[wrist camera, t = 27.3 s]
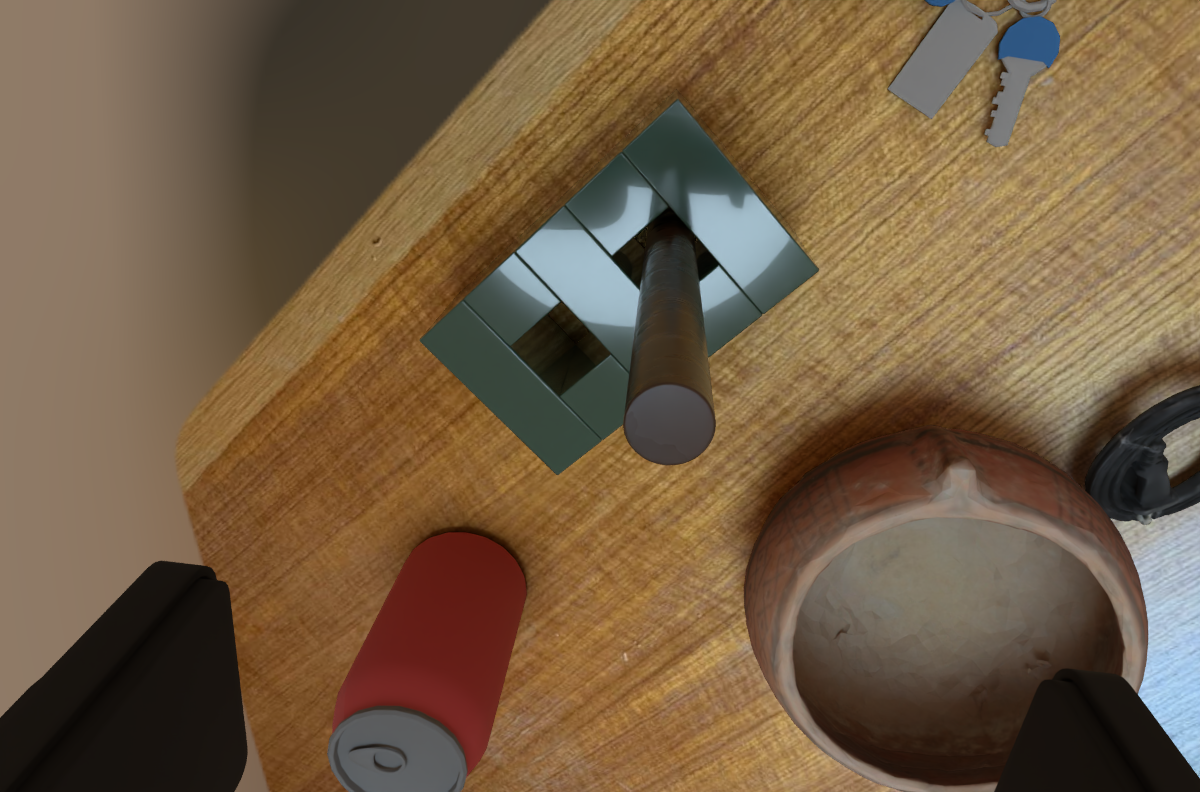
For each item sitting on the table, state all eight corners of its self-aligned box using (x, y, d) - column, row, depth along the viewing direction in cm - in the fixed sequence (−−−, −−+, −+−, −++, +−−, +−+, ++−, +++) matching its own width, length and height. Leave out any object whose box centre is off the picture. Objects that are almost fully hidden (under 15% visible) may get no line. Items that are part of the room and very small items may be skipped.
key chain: (1209, -178, 27) (1225, -184, 26) (1221, 72, 30) (1235, 73, 29) (796, -22, 30) (800, -23, 29) (844, 192, 33) (848, 196, 32)
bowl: (935, 323, 35) (1029, 424, 26) (1137, 548, 38) (1282, 706, 29) (671, 531, 40) (672, 675, 31) (870, 710, 44) (923, 887, 35)
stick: (645, 236, 34) (616, 458, 16) (652, 193, 33) (631, 375, 15) (687, 243, 34) (705, 472, 16) (695, 200, 33) (724, 391, 15)
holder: (573, 413, 38) (557, 476, 32) (456, 295, 36) (418, 340, 31) (796, 233, 34) (820, 270, 28) (676, 88, 32) (677, 98, 26)
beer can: (405, 518, 41) (308, 691, 30) (532, 533, 41) (481, 713, 30) (406, 620, 44) (317, 813, 33) (525, 635, 44) (476, 835, 33)
